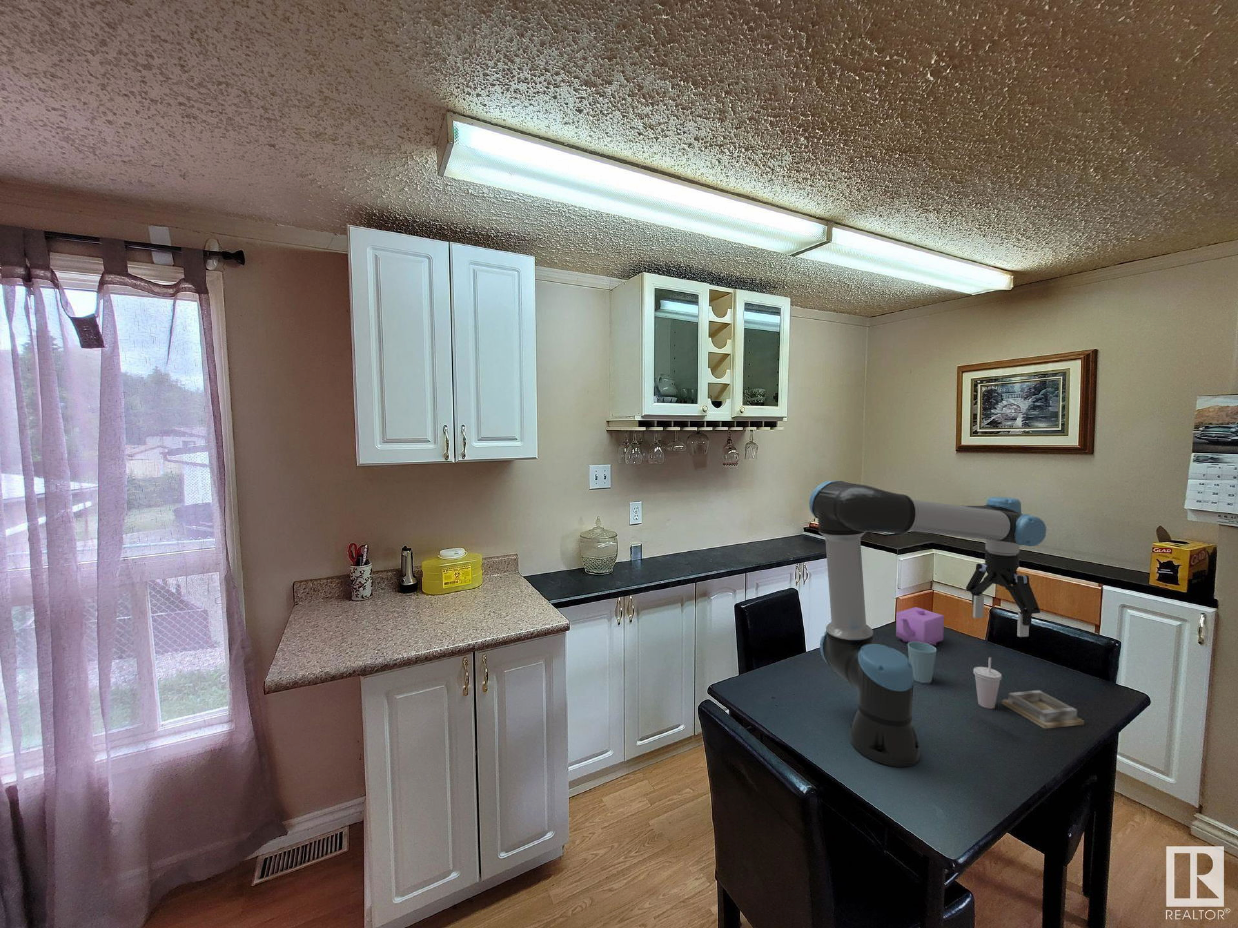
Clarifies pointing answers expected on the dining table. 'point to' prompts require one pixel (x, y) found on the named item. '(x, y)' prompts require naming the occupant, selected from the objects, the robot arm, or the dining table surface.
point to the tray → (1043, 709)
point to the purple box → (919, 626)
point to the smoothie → (987, 685)
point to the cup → (922, 660)
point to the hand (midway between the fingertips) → (999, 626)
